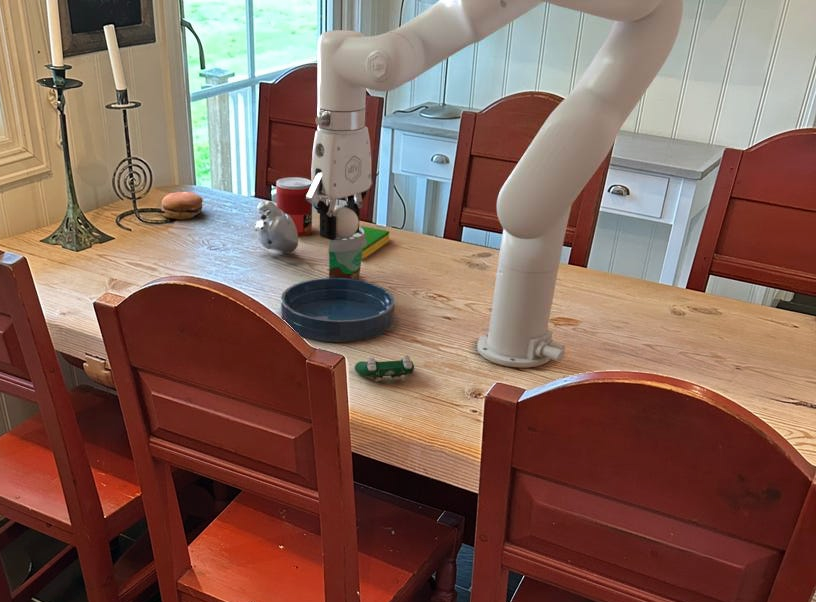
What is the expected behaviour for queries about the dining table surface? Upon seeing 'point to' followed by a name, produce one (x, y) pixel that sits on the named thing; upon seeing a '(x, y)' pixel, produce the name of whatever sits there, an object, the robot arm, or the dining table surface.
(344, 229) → the egg
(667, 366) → the dining table surface
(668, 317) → the dining table surface
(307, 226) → the canned food
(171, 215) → the burger
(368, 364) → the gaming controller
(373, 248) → the dish sponge
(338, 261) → the food container
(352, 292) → the basin
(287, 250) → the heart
